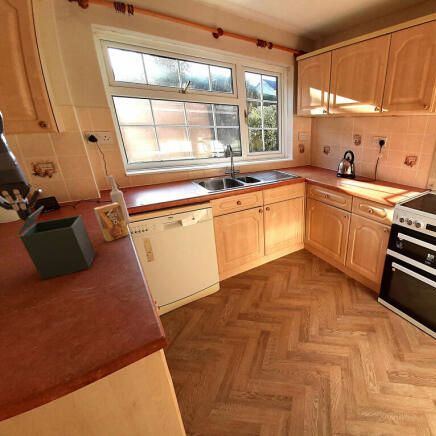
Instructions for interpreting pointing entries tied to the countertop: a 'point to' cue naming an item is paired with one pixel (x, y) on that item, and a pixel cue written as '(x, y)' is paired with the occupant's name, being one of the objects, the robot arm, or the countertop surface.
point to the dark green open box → (59, 246)
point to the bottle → (119, 199)
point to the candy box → (111, 221)
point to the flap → (31, 220)
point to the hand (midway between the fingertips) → (27, 219)
